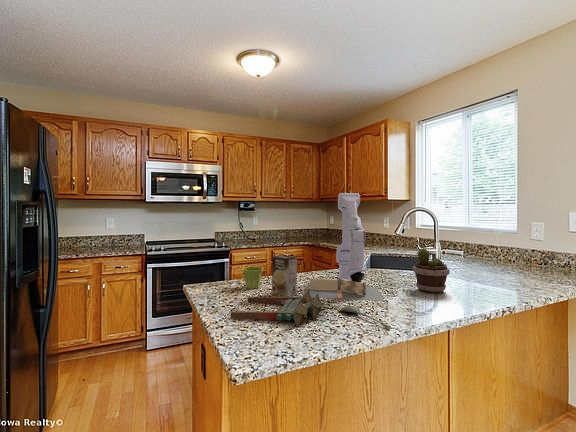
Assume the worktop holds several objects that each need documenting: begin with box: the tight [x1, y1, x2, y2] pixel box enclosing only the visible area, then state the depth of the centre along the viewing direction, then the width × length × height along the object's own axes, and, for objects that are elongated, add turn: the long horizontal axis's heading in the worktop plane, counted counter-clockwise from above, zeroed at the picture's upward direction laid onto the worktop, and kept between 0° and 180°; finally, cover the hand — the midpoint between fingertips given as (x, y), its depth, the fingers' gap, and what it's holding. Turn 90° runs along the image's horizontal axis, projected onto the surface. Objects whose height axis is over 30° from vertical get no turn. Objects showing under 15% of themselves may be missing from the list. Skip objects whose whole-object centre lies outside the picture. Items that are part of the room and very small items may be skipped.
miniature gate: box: [229, 289, 326, 328], centre depth 111 cm, size 27×6×30 cm
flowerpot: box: [412, 246, 451, 295], centre depth 140 cm, size 14×15×20 cm
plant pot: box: [242, 266, 264, 290], centre depth 145 cm, size 9×9×9 cm
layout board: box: [301, 276, 386, 302], centre depth 135 cm, size 22×32×6 cm
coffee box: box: [271, 254, 298, 297], centre depth 133 cm, size 9×6×16 cm
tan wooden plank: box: [341, 279, 367, 295], centre depth 133 cm, size 12×1×5 cm, turn 44°
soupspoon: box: [338, 305, 392, 331], centre depth 105 cm, size 22×3×7 cm
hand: (356, 289), depth 134 cm, fingers closed
